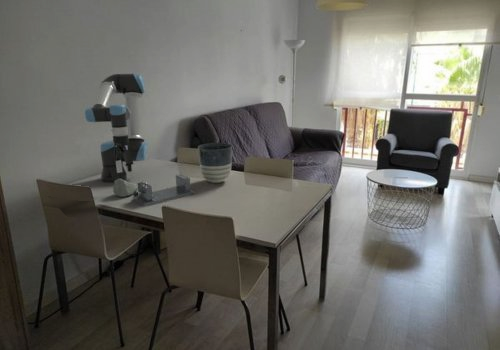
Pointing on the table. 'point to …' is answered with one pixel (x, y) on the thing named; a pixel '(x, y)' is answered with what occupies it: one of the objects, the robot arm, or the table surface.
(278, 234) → the table surface
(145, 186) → the jaw
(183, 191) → the vise base
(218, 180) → the planter
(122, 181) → the decorative stone
